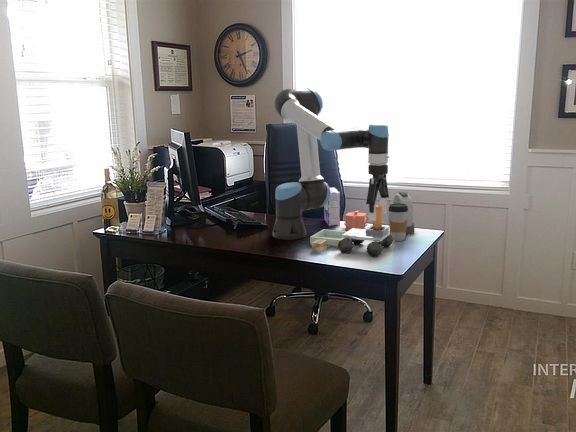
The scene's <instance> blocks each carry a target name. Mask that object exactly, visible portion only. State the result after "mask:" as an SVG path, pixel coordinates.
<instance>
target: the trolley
mask: <svg viewBox="0 0 576 432" xmlns="http://www.w3.org/2000/svg"><path fill="white" fill-rule="evenodd" d="M342 238H344V239H342V240H341V241H339V243H338V248H337V249H338V250H339V251H340V253H341V254H349V253H350V252H352V251H353V249H354V245H361V244H363V243H364V242H365V241H368V242H369V241H370V243H369V244H367V247H366V252H367V254H368V255H369V256H370V257H373V258H377V257H379V256H380V255H381V254H382V253H383V250H384V249H383V248H385V249H386V248H389V247H390V246H392V245H393V242H394V240H393V237H392V236H391V235H390V227H389V226H384V225H382V230H374V229H373V224H371V225H370V226H369V227H366V228H364V229H358V228H352V229H350V230H349V229H348V230H347V231H346V233H344V234H342ZM348 238H350V239H351V240H350V239H348Z"/></svg>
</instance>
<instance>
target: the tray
mask: <svg viewBox="0 0 576 432" xmlns="http://www.w3.org/2000/svg"><path fill="white" fill-rule="evenodd" d="M346 232H347V231H346V230H345V231H344V230H336V229H335V230H334V229H324V228H323V229H321V230H320V231H318V232H316V233H315V234H313V235H311V236H309V239H310V240H309V244H310V246H312V242H314V241H316V240H317V239H322V240H327V248H333V249H334V248H335V249H339V248H338V243H339V241H341V240H342V239H344V238H342V234H344V233H346ZM348 239H350V238H348ZM350 240H351V239H350Z"/></svg>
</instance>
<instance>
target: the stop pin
mask: <svg viewBox="0 0 576 432" xmlns="http://www.w3.org/2000/svg"><path fill="white" fill-rule="evenodd" d="M372 225H373V229H374V230H382V226H383V214H382V206H380V204H379V205H377V204H376V221H372Z"/></svg>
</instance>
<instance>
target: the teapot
mask: <svg viewBox="0 0 576 432" xmlns="http://www.w3.org/2000/svg"><path fill="white" fill-rule="evenodd" d="M342 219H343V221H344V222H343V223H344V224H343V225H344V226H345V230H348V231H349V230H350V229H352V228H358V229H366V228H367V226H368V223H367V222H368V221H369V215H367V213H366V212H359V210H358V209H357V210H356V211H353V212H347V213H346V214H344V215H343V216H342Z"/></svg>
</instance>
